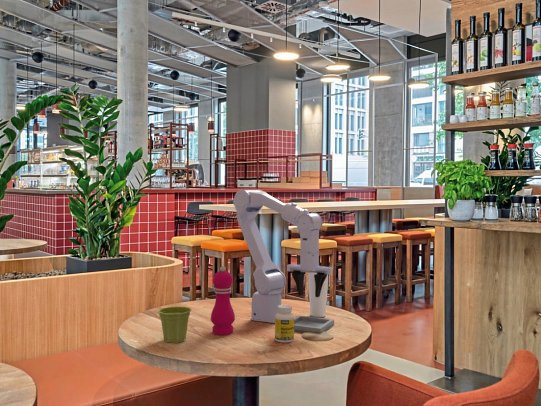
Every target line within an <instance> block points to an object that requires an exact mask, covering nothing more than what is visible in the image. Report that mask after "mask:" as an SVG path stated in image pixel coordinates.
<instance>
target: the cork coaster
mask: <svg viewBox="0 0 541 406" xmlns="http://www.w3.org/2000/svg"><path fill="white" fill-rule="evenodd" d="M302 338H303V339H306V340H308V341H314V342H323V341H324V342H325V341H330V340H332V339H334V334H333V333H331V332H328V331H323V332H322V333H314V332H305V333H304V332H302Z"/></svg>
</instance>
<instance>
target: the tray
mask: <svg viewBox="0 0 541 406" xmlns="http://www.w3.org/2000/svg"><path fill="white" fill-rule="evenodd" d="M334 326H335V319H331V318H325V317H324V318H323V317H312V316H307V315H301V314H299V315H297V316H296V317H295V316H294V332H297V333H298V332H299V333H305V332H314V333H322V332H323V331H325V332H327V331H328V330H330V329H331V328H332V327H334Z"/></svg>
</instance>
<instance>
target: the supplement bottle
mask: <svg viewBox="0 0 541 406" xmlns="http://www.w3.org/2000/svg"><path fill="white" fill-rule="evenodd" d="M292 311H293V307H292V305H290V304H281V305H279V306H278V312H279V313H277V314H276V315H275V323H274V340H275V341H276V342H279V343H285V344H287V343H291V342H293V341H294V339H295V338H294V337H295V336H294V335H295V331H294V318H295V315H294V313H292Z"/></svg>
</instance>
